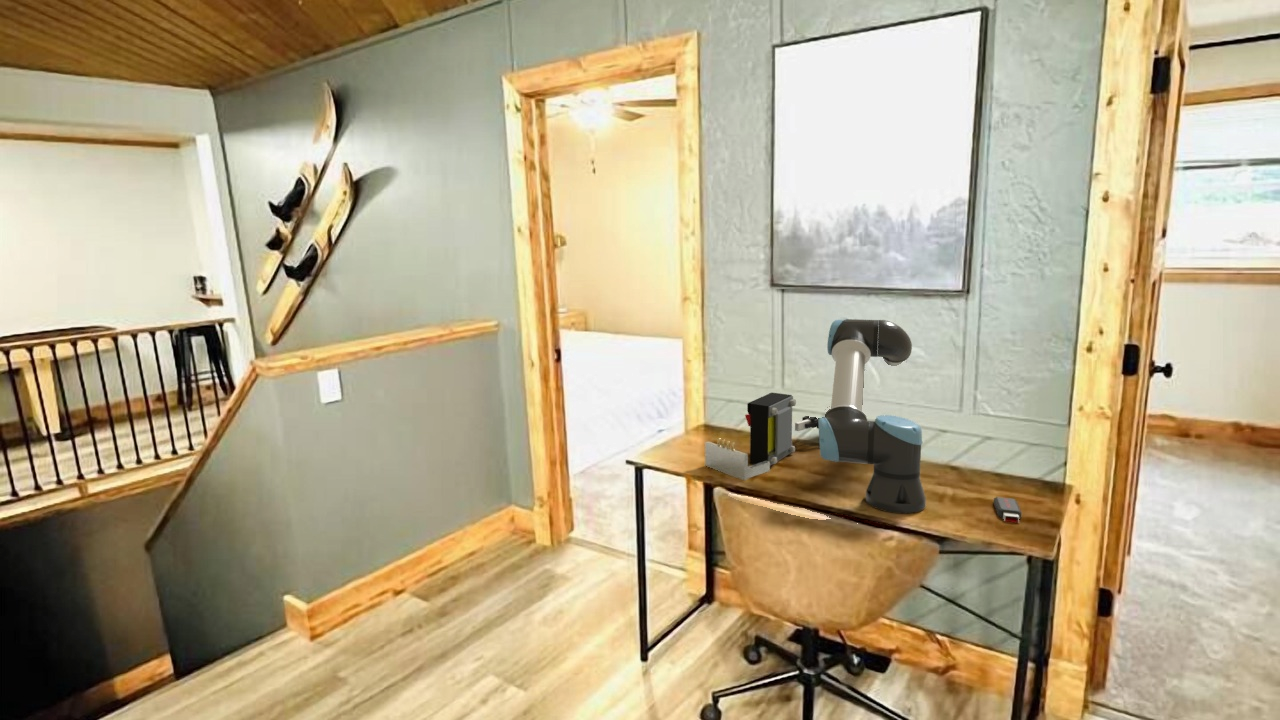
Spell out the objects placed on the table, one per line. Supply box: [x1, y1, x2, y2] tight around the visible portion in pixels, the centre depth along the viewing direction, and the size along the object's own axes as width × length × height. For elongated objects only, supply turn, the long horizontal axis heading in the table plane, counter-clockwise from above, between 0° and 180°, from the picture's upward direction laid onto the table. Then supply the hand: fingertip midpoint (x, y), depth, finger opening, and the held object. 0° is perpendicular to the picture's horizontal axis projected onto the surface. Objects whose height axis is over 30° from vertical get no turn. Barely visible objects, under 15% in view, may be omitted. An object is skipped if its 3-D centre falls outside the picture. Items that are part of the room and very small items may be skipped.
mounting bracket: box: [704, 437, 771, 481], centre depth 205 cm, size 17×12×10 cm
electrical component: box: [744, 392, 797, 467], centre depth 214 cm, size 18×10×20 cm, turn 143°
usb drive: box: [993, 496, 1022, 524], centre depth 169 cm, size 5×12×3 cm, turn 159°
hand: (796, 427), depth 223 cm, fingers closed
